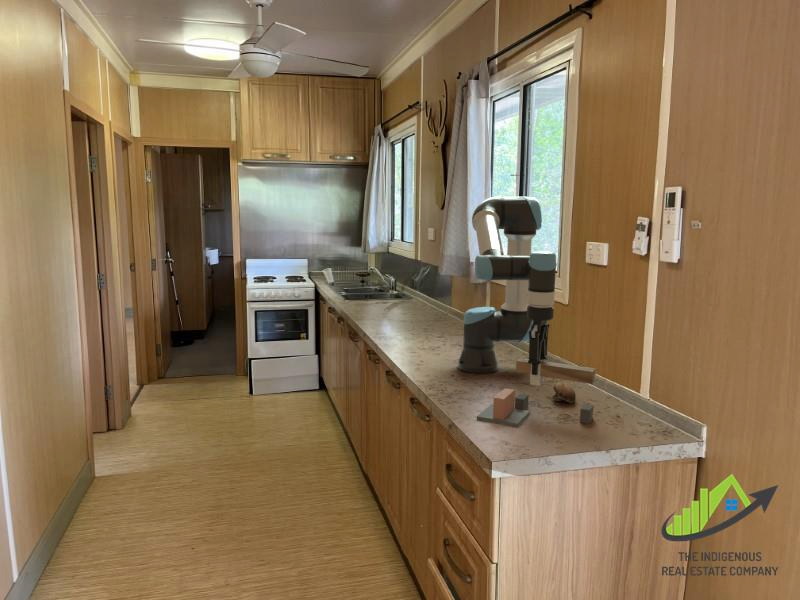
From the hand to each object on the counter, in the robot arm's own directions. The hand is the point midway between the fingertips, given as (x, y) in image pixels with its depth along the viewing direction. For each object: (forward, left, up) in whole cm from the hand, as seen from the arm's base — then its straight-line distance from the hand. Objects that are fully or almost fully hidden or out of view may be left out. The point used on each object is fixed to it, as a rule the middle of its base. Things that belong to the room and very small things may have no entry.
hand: (537, 382), depth 168 cm
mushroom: (-13, +5, -9) cm, 17 cm away
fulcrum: (+10, -7, -9) cm, 15 cm away
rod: (0, +5, +3) cm, 6 cm away
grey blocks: (+1, +5, -9) cm, 10 cm away
